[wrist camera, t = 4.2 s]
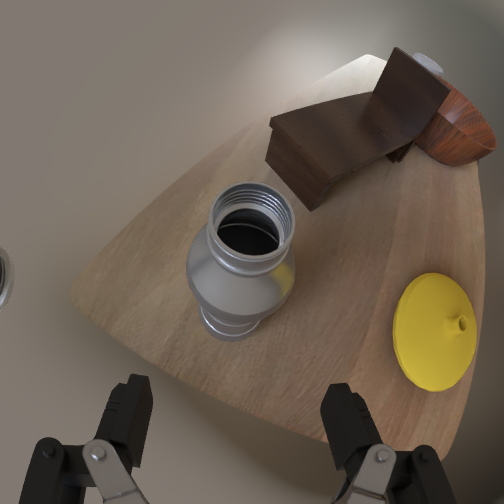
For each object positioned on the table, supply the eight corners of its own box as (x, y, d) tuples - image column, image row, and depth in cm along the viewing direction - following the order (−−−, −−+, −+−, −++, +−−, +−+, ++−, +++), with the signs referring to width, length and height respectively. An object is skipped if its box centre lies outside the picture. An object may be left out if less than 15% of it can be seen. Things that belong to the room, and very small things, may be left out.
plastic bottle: (259, 283, 31) (316, 160, 13) (261, 344, 28) (339, 297, 10) (200, 282, 30) (181, 152, 12) (199, 344, 28) (164, 297, 9)
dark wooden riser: (311, 215, 36) (370, 107, 19) (261, 159, 39) (286, 48, 22) (401, 160, 43) (452, 89, 27) (360, 121, 46) (397, 47, 30)
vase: (361, 359, 29) (395, 354, 22) (405, 258, 35) (435, 236, 29) (439, 408, 27) (475, 408, 20) (470, 313, 33) (502, 301, 26)
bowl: (471, 203, 43) (505, 172, 32) (374, 133, 45) (400, 88, 35) (466, 142, 53) (488, 115, 42) (390, 89, 55) (407, 56, 45)
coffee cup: (395, 88, 56) (412, 55, 45) (399, 79, 60) (415, 49, 49) (424, 108, 55) (444, 76, 44) (426, 97, 59) (444, 68, 48)
